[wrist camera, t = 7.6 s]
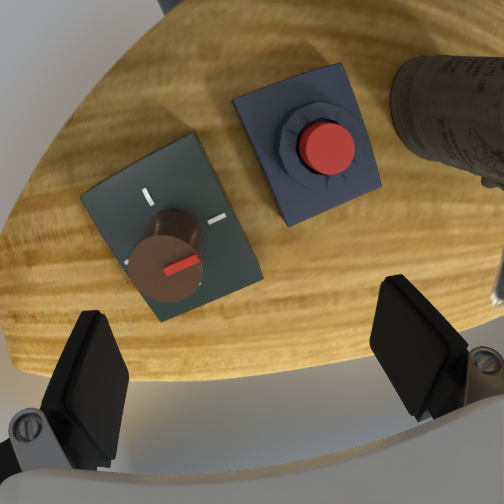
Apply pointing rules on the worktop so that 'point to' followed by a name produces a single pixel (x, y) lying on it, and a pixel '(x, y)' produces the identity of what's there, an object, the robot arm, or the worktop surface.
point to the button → (327, 147)
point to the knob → (168, 257)
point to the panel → (183, 199)
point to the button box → (288, 136)
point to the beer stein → (453, 112)
